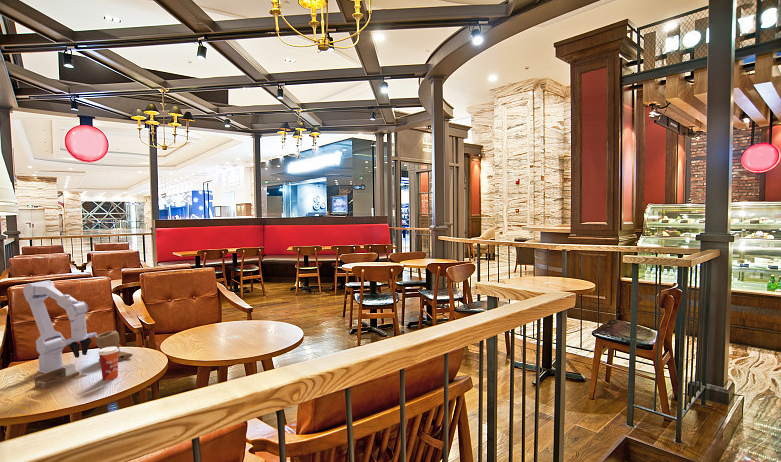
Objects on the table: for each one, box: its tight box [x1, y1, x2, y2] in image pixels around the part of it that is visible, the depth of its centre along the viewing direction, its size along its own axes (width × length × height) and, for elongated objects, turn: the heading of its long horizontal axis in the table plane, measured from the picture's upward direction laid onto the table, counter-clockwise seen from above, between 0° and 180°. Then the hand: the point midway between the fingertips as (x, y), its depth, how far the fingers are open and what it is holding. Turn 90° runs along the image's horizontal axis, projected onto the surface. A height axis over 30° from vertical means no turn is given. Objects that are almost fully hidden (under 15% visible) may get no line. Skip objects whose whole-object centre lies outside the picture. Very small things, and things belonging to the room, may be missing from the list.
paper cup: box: [97, 347, 120, 381], centre depth 178 cm, size 8×8×14 cm
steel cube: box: [60, 363, 76, 377], centre depth 179 cm, size 4×4×4 cm
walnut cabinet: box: [33, 368, 88, 390], centre depth 176 cm, size 10×15×5 cm
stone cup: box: [94, 330, 134, 362], centre depth 200 cm, size 15×12×15 cm
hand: (80, 355), depth 185 cm, fingers open, 3 cm apart
